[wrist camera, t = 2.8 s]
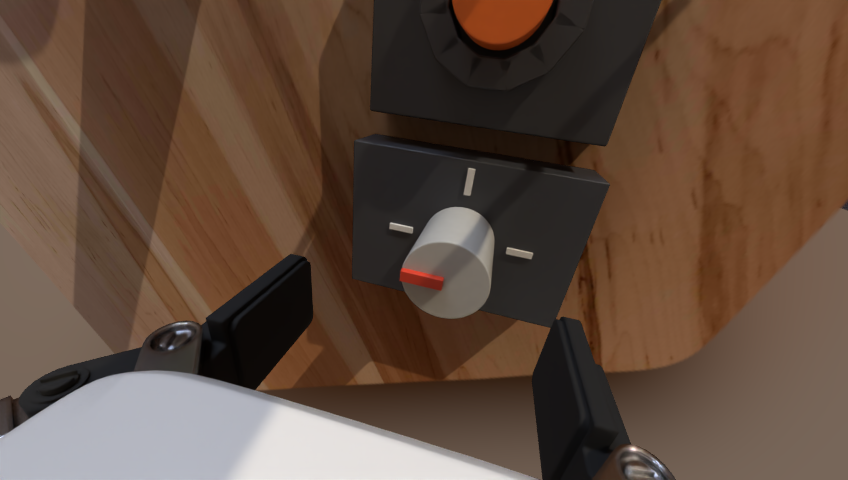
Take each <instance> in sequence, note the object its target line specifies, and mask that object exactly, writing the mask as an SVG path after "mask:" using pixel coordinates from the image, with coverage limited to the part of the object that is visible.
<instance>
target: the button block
mask: <svg viewBox="0 0 848 480" xmlns="http://www.w3.org/2000/svg"><path fill="white" fill-rule="evenodd" d="M660 3H661V0H553V2H552V5H551V7H550V9H549V11H548V13H547V15H546V17H545V18H544V20H543V22H542V23H541V25H540V26H539V28H538V29H537V30H536V31H535V33H534V34H533V35H532V36H530V37H529V38H528V39H527V40H526V41H524V42H523V43H521V44H519V45H518V46H516V47H513V48H510V49H507V50H489V49H486V48H483V47H481V46H479V45H478V44H476V43H475V42H474V41H473V40H472V39H471V38H470V37H469V36H468V35H467V33H466V32H465V31H464V29H463V28H462V26H461V25H460V23H459V21H458V19H457V17H456V14H455V12H454V8H453V4H452V0H374V18H373V45H372V73H371V100H370V110H371V111H376V112H382V113H389V114H396V115H402V116H409V117H415V118H422V119H428V120H435V121H441V122H448V123H454V124H461V125H468V126H474V127H481V128H487V129H494V130H500V131H507V132H513V133H520V134H526V135H533V136H540V137H546V138H553V139H559V140H566V141H572V142H579V143H585V144H592V145H598V146H606V145H607V144H608V141H609V138H610V136H611V133H612V130H613V128H614V125H615V122H616V120H617V117H618V114H619V112H620V109H621V106H622V104H623V101H624V98H625V96H626V93H627V90H628V88H629V85H630V82H631V80H632V77H633V74H634V72H635V69H636V66H637V64H638V61H639V58H640V56H641V53H642V50H643V48H644V45H645V43H646V40H647V37H648V35H649V32H650V29H651V27H652V24H653V21H654V19H655V16H656V13H657V11H658V8H659V5H660Z"/></svg>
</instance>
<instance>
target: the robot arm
mask: <svg viewBox="0 0 848 480" xmlns="http://www.w3.org/2000/svg"><path fill="white" fill-rule="evenodd" d="M312 319H313V302H312V283H311V265H310V262H308V261H307V259H306V258H305V257H302V256H298V255H294V254H290V255H288V256H287V257H286V258H284V259H283V260H282V261H280V262H279V263H278V264H276V265H275V266H274V267H272V268H271V269H270V270H269V271H267V272H266V273H265V274H263V275H262V276H261V277H259V278H258V279H257V280H255V281H254V282H253V283H251V284H250V285H249V286H247V287H246V288H245V289H243V290H242V291H241V292H240V293H238V294H237V295H236V296H234V297H233V298H232V299H230V300H229V301H228V302H226V303H225V304H224V305H222V306H221V307H220V308H218V309H217V310H216V311H214V312H213V313H212V314H211V315H209V316H208V317H207V318H206V322H205V323H204V324H202V325H200V324H199V323H196V322H194V321H179V322H174V323H171V324H168V325H165V326H163V327H161V328H159V329H157V330H156V331H154V332H152V333H151V334H150V335H149V336H148V337H147V338H146V340H145V341H144V343H143V345H142V347H141V348H137V349H133V350H129V351H125V352H121V353H117V354H113V355H109V356H105V357H101V358H97V359H93V360H89V361H85V362H81V363H77V364H74V365H69V366H66V367H63V368H60V369H57V370H55V371H52V372H50V373H48V374H46V375H44V376H42V377H41V378H39V379H38V380H36V381H34V382H33V383H32V384H31V385H30V386H28V387H27V388H26V389H25V390H24V392H23V393H22V394H21V396H20V397H19V398H17V399H14V400H13V398H12V397H11V396H8V397H6V398H3V399H1V400H0V480H540V479H537V478H534V477H531V476H528V475H525V474H522V473H519V472H516V471H513V470H510V469H507V468H504V467H501V466H498V465H495V464H492V463H489V462H486V461H483V460H480V459H476V458H473V457H470V456H467V455H464V454H461V453H458V452H454V451H451V450H448V449H445V448H442V447H439V446H435V445H432V444H429V443H426V442H423V441H419V440H416V439H413V438H410V437H407V436H403V435H400V434H397V433H394V432H390V431H387V430H384V429H381V428H377V427H374V426H371V425H367V424H364V423H361V422H358V421H355V420H351V419H348V418H345V417H342V416H338V415H335V414H332V413H329V412H325V411H321V410H319V409H315V408H312V407H308V406H305V405H302V404H299V403H295V402H292V401H289V400H285V399H282V398H279V397H275V396H272V395H269V394H266V393H262V392H259V391H256V388H257V387H258V386H259V385H260V384H261V382H262V381H263V380H264V379H265V378H266V376H267V375H268V374H269V373H270V372H271V370H272V369H273V368H274V367H275V365H276V364H277V363H278V362H279V361H280V359H281V358H282V357H283V356H284V355H285V353H286V352H287V351H288V350H289V349H290V347H291V346H292V345H293V344H294V343H295V341H296V340H297V339H298V338H299V337H300V335H301V334H302V333H303V332H304V331H305V329H306V328H307V327H308V326H309V325H310V323H311V321H312ZM532 387H533V396H534V404H535V414H536V423H537V433H538V442H539V451H540V460H541V469H542V479H543V480H676V479H675V478H674V476H673V475H672V473H671V472H670V471H669V469H668V468H667V467H666V466H665V465H664V464H663V463H662V462H661V461H660V460H659V459H658V458H657V457H655V456H654V455H653V454H651V453H650V452H648V451H647V450H645V449H643V448H641V447H639V446H636V445H632V444H631V443H630V440H629V437H628V435H627V432H626V429H625V427H624V424H623V421H622V419H621V416H620V414H619V411H618V408H617V405H616V402H615V400H614V397H613V395H612V392H611V389H610V386H609V384H608V381H607V379H606V376H605V373H604V371H603V369H602V367H601V366H600V365H597V364H595V362H594V359H593V356H592V353H591V350H590V347H589V344H588V342H587V339H586V336H585V333H584V330H583V327H582V324H581V322H580V321H579V320H575V319H571V318H566V317H561V318H560V320H557V319H555V320H554V322H553V324H552V327H551V329H550V332H549V334H548V337H547V339H546V342H545V344H544V347H543V349H542V352H541V354H540V357H539V359H538V362H537V364H536V367H535V369H534V372H533V376H532Z"/></svg>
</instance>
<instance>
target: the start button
mask: <svg viewBox="0 0 848 480" xmlns="http://www.w3.org/2000/svg"><path fill="white" fill-rule="evenodd" d="M552 2H553V0H452V4H453V8H454V12H455V14H456V17H457V19H458V21H459V23H460V25H461V26H462V28H463V29H464V31H465V32H466V33H467V35H468V36H469V37H470V38H471V39H472V40H473V41H474V42H475V43H476V44H478V45H479V46H481V47H483V48H486V49H489V50H507V49H510V48H513V47H516V46H518V45H519V44H521V43H523V42H524V41H526V40H527V39H528V38H529V37H530V36H532V35H533V34H534V33H535V31H536V30H537V29H538V28H539V26H540V25H541V23H542V22H543V20H544V18H545V17H546V15H547V13H548V11H549V9H550V7H551V5H552Z"/></svg>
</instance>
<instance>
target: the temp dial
mask: <svg viewBox="0 0 848 480" xmlns="http://www.w3.org/2000/svg"><path fill="white" fill-rule="evenodd" d="M494 240H495V239H494V234H493V230H492V228H491V226H490V224H489V223H488V222H487V220H486V219H485V218H484V217H483V216H482V215H480V214H479V213H477V212H475V211H473V210H471V209H468V208H464V207H450V208H446V209H443V210H441V211H439V212H438V213H436V214H435V215H434V216H433V217H432V218H431V219H430V220H429V222H428V223H427V225H426V226H425V228H424V230H423V231H422V233H421V235H420V236H419V238H418V239H417V241H416V243H415V244H414V246H413V248H412V249H411V251H410V252H409V254H408V256H407V257H406V259H405V261H404V263H403V266H402V269H401V271H400V281H402V284H403V287H404V290H405V292H406V294H407V296H408V297H409V298H410V300H411V301H412V302H413V303H414V304H415V305H416V306H417V307H418V308H420V309H421V310H423V311H425V312H426V313H428V314H431V315H433V316H436V317H440V318H446V319H456V318H462V317H466V316H468V315H471V314H473V313H475V312H476V311H477V310H479V309H480V308H481V307H482V306H483V305H484V303H485V302H486V300H487V298H488V296H489V293H490V288H491V278H492V266H493V255H494Z"/></svg>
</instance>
